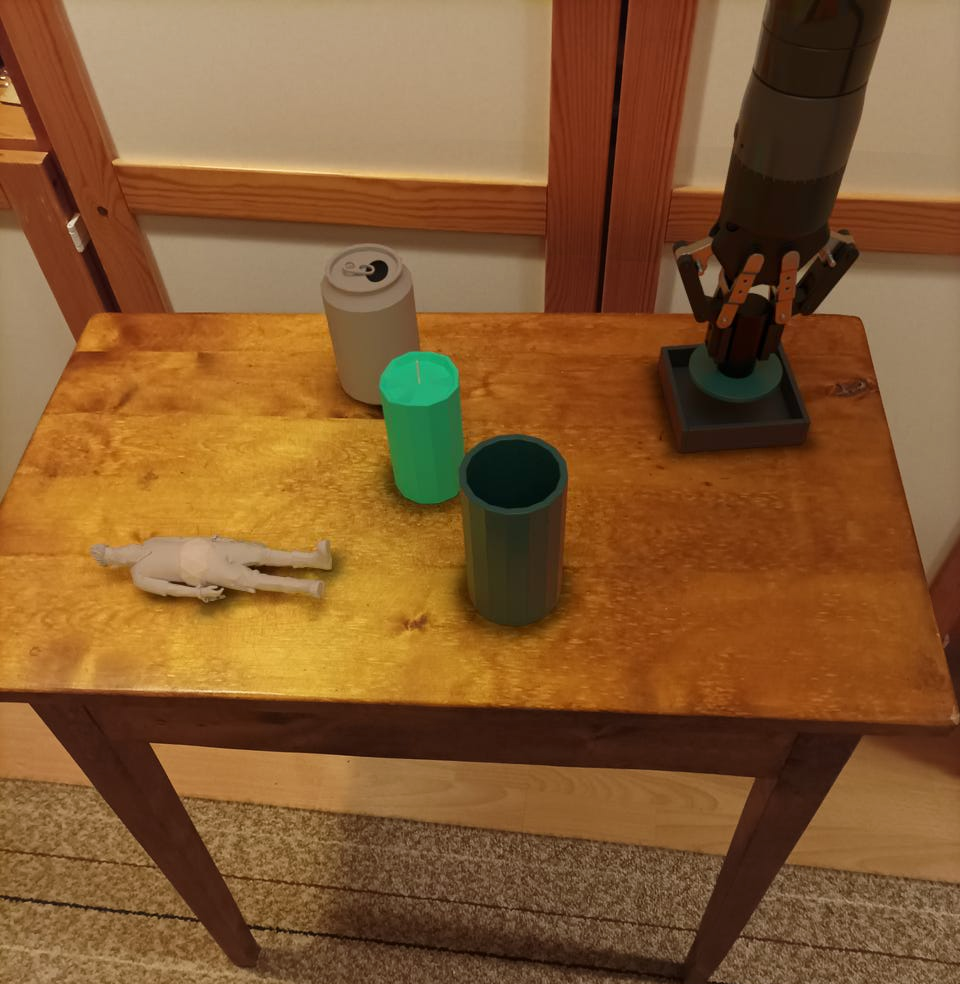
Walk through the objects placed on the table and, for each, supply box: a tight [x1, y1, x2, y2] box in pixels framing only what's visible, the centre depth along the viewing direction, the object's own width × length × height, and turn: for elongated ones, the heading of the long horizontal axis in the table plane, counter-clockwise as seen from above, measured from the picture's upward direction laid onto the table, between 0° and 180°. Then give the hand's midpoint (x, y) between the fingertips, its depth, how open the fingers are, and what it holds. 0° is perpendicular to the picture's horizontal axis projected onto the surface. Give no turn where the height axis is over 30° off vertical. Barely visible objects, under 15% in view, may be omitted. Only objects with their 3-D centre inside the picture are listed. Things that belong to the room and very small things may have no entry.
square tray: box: [657, 340, 812, 454], centre depth 78 cm, size 10×10×2 cm
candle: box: [379, 351, 466, 505], centre depth 70 cm, size 6×6×12 cm
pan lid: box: [688, 292, 782, 403], centre depth 73 cm, size 8×8×7 cm
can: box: [320, 242, 422, 406], centre depth 77 cm, size 8×8×12 cm
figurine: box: [88, 534, 333, 603], centre depth 69 cm, size 7×4×18 cm
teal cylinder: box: [459, 433, 569, 627], centre depth 64 cm, size 7×7×12 cm
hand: (739, 354), depth 74 cm, fingers closed on pan lid, 3 cm apart
